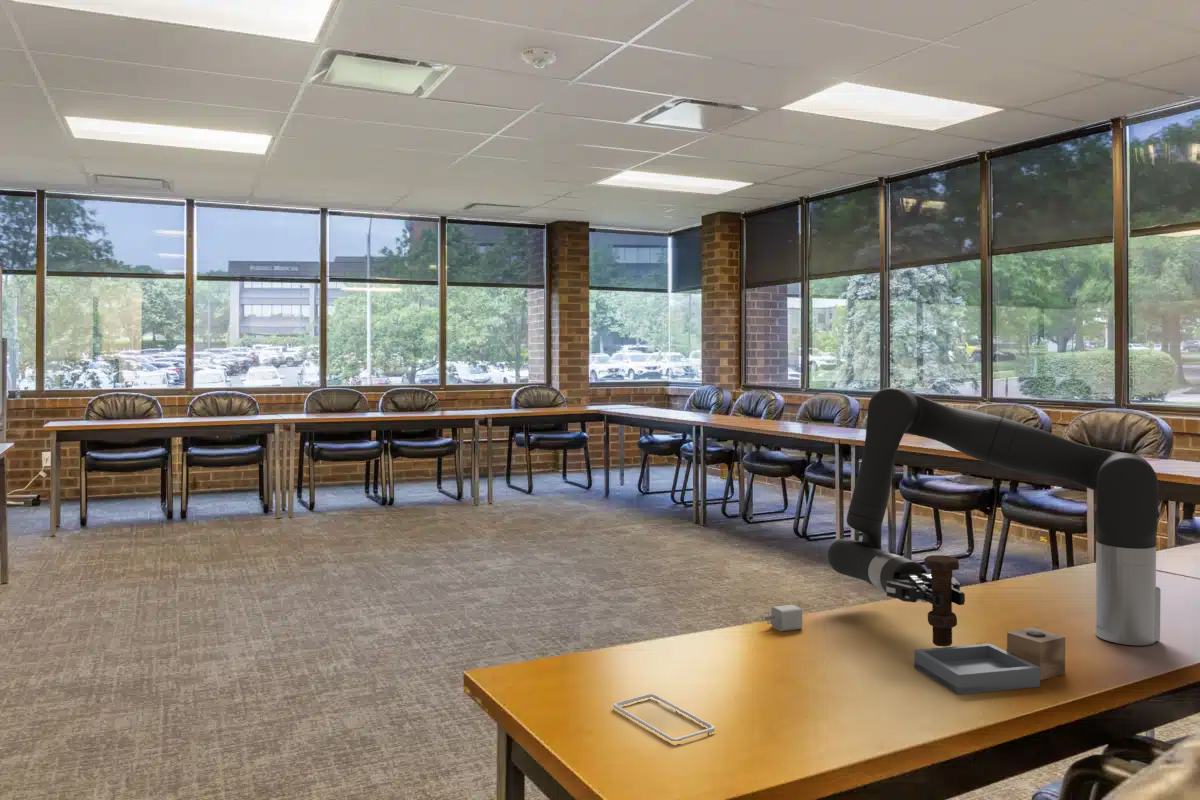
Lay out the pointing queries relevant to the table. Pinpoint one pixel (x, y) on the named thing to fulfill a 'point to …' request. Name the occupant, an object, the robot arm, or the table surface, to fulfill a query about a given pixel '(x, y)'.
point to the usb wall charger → (785, 618)
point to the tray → (976, 668)
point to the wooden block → (1039, 650)
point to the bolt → (942, 583)
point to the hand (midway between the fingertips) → (951, 599)
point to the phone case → (616, 706)
